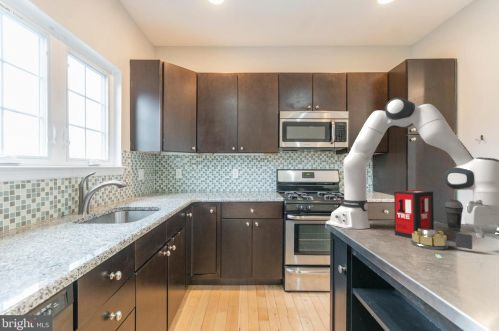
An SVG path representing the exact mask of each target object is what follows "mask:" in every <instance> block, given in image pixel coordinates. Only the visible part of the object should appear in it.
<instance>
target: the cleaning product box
mask: <svg viewBox="0 0 499 331" xmlns="http://www.w3.org/2000/svg"><path fill="white" fill-rule="evenodd" d="M393 194H394V196H393V197H394V202H393V203H394V235H395V236H397V237H403V238H407V239H411V240H412V233H413V232H414V231H418V228H422V229H432V230H435V227H434V226H435V222H434V221H435V219H434V215H435V214H434V191H431V190H430V191H427V190H414V189H413V190H411V189H410V190H402V191H394V192H393Z"/></svg>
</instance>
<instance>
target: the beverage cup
mask: <svg viewBox="0 0 499 331" xmlns="http://www.w3.org/2000/svg"><path fill="white" fill-rule="evenodd" d="M444 210H445V216H446V223H447V229H448V231H449V232H453V233H461V228H462V217H463V213H464V212H463V211H464V205H463V203H462V202H461V201H460V200H457V199H456V190H454V191H453V199H451V198H450V199H448V200H447V201H446V202H445V204H444Z"/></svg>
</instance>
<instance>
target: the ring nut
mask: <svg viewBox="0 0 499 331" xmlns="http://www.w3.org/2000/svg"><path fill="white" fill-rule="evenodd" d="M447 239H448V238H447V235H445V234H444V231H442V230H436V234H433V237H431V236H424V235H422V228H418V231H414V232H413V233H412V239H411V240H413V241H414V242H417V243H420V244H425V245H431V246H432V245H433V246H445V245H448V247H454V248H455V247H456V248H460V249H466V250H473V234H470V233H462V232H455V241H454V240H453V241H452V240H447Z"/></svg>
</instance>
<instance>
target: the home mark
mask: <svg viewBox="0 0 499 331" xmlns="http://www.w3.org/2000/svg"><path fill="white" fill-rule="evenodd" d="M435 257H436V258H437V259H440V260H443V257H442V256H441V254H435Z"/></svg>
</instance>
